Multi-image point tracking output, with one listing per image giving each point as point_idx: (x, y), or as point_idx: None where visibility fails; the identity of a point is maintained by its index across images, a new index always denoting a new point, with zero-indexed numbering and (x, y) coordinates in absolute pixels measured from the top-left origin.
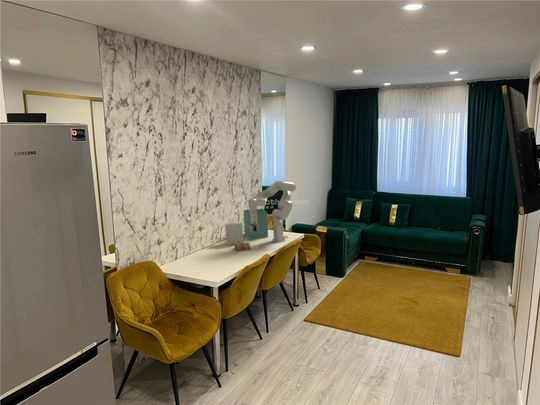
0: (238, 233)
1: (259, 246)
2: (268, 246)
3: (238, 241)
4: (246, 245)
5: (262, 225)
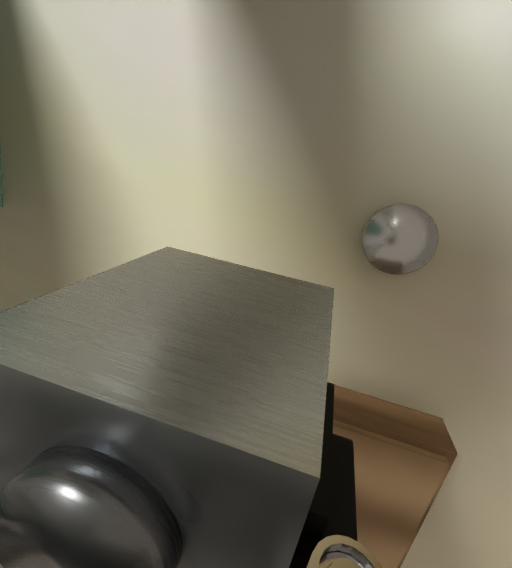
0: None
1: (412, 270)
2: (472, 130)
3: None
4: (414, 484)
5: None
